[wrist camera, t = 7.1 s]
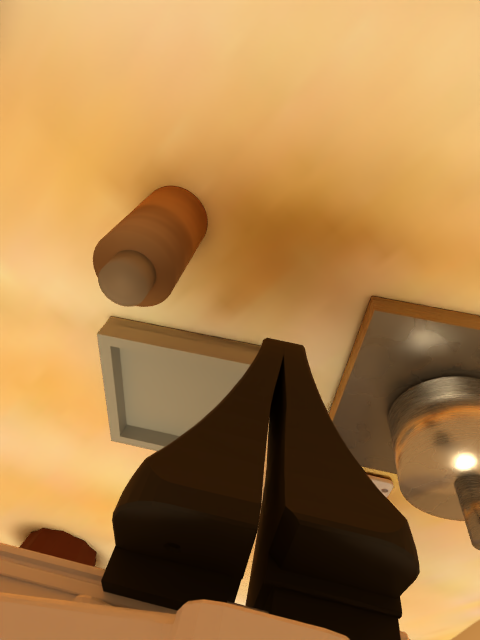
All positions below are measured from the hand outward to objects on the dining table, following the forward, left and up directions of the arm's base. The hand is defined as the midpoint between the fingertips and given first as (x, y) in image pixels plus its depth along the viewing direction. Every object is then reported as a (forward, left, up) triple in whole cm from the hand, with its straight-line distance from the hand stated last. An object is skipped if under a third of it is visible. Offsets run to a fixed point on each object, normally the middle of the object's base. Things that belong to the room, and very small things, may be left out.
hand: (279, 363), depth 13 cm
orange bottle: (+1, +7, -10) cm, 12 cm away
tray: (-12, +6, -10) cm, 17 cm away
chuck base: (-8, -11, -10) cm, 17 cm away
